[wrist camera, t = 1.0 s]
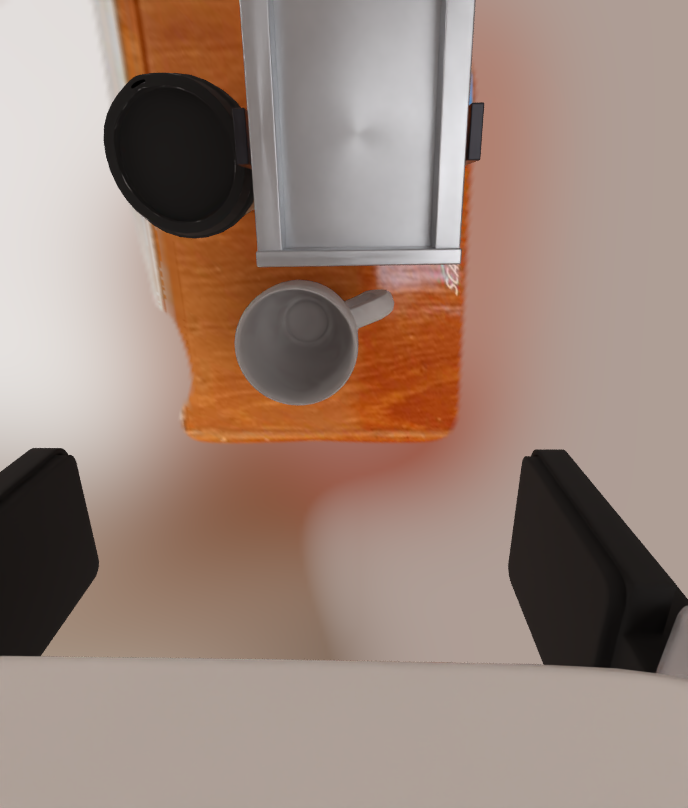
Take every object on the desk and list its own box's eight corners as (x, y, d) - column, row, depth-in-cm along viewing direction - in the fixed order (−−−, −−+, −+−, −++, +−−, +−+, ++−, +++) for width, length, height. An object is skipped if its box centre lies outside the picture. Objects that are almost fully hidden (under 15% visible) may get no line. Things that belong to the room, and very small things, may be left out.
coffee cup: (260, 94, 39) (205, 31, 25) (305, 204, 42) (279, 203, 28) (164, 142, 40) (61, 107, 26) (214, 245, 43) (145, 264, 29)
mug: (283, 382, 47) (267, 423, 38) (240, 293, 44) (211, 315, 35) (406, 333, 45) (418, 364, 36) (369, 236, 42) (372, 245, 33)
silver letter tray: (246, -12, 19) (234, -36, 17) (468, -18, 18) (480, -43, 16) (265, 262, 22) (256, 267, 20) (452, 259, 22) (461, 264, 20)
